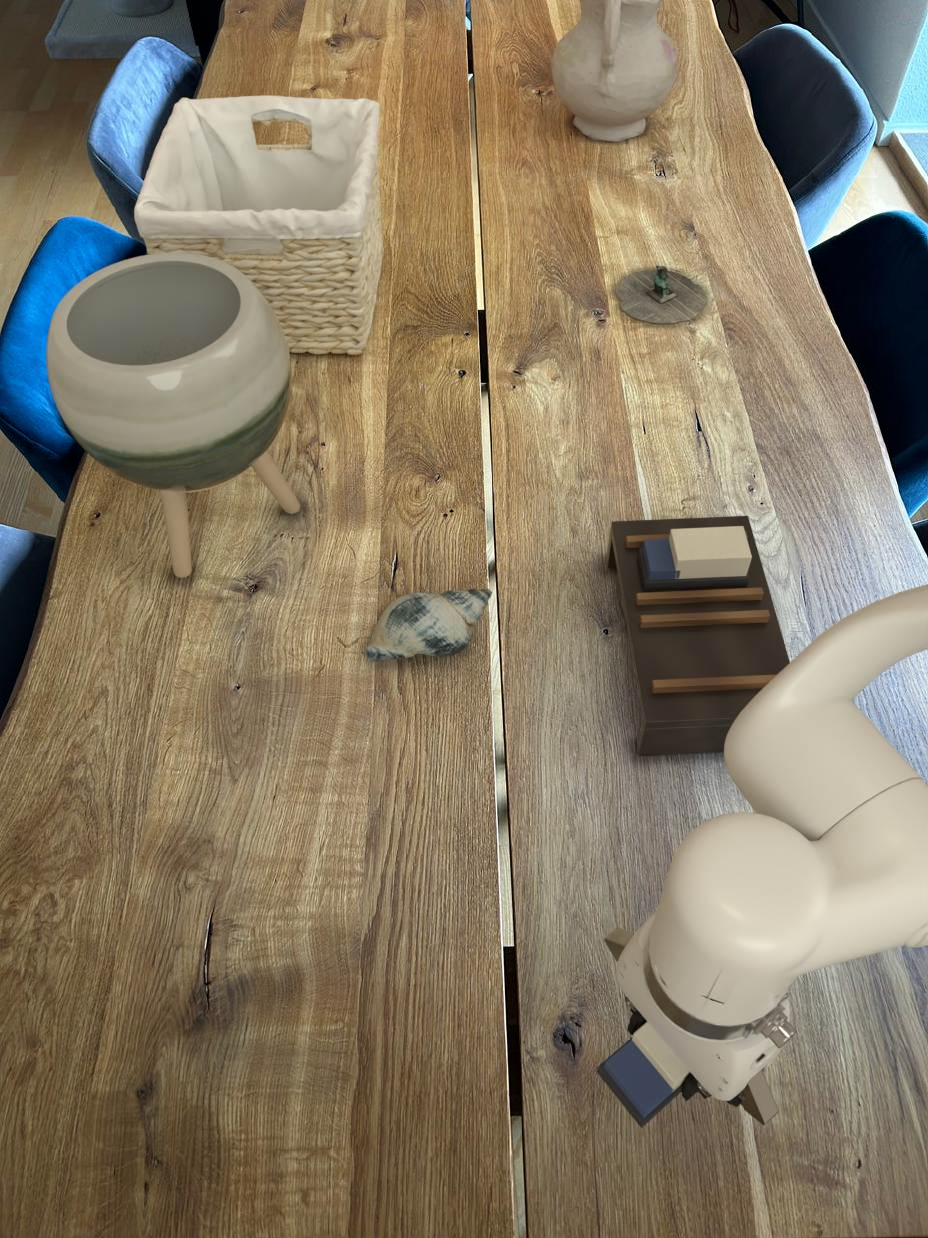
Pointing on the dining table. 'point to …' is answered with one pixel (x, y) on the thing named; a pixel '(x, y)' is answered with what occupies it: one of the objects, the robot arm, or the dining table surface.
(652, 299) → the sculpture
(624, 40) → the ceramic pitcher
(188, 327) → the planter
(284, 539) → the dining table surface
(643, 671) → the shoe rack
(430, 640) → the seashell
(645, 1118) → the blue cream block
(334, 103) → the basket
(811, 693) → the robot arm
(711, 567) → the two-tone stepped block
